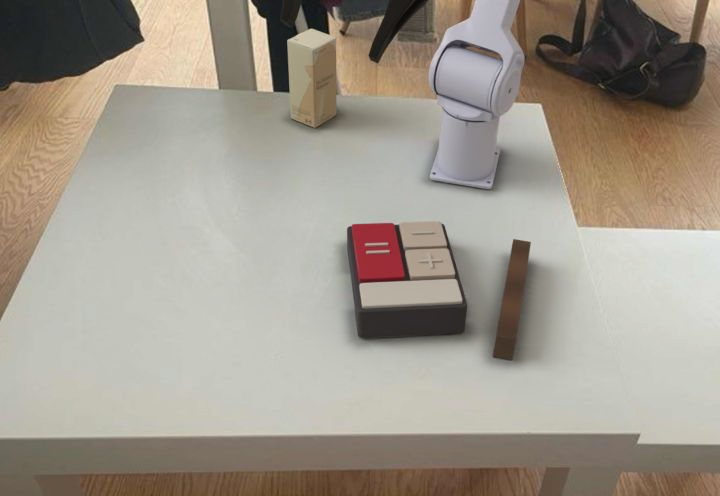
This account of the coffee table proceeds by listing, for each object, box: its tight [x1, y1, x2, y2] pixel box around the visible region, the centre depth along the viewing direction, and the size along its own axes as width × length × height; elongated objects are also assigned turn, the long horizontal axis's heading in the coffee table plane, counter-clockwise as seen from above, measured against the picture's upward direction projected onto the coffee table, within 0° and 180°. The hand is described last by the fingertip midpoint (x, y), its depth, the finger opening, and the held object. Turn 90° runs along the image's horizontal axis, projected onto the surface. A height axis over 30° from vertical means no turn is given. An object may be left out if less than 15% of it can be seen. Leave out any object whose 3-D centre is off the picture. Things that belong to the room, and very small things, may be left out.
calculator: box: [346, 220, 468, 339], centre depth 87 cm, size 11×4×15 cm
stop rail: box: [492, 238, 532, 361], centre depth 87 cm, size 16×2×3 cm, turn 171°
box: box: [286, 28, 338, 129], centre depth 108 cm, size 5×4×11 cm
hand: (329, 41), depth 67 cm, fingers open, 7 cm apart
